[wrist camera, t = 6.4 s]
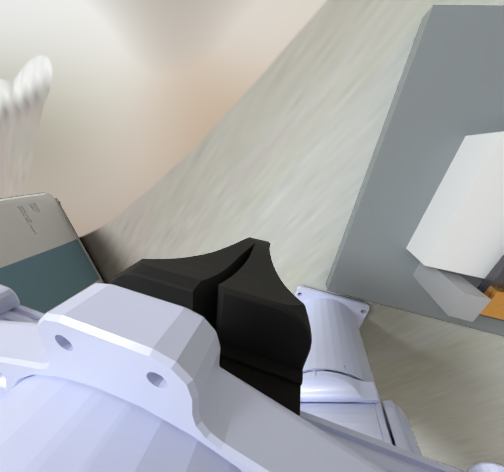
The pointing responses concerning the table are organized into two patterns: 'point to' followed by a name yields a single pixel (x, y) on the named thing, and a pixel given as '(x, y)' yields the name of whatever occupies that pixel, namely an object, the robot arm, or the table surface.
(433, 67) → the board
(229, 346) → the robot arm
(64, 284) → the stereo radio cassette player
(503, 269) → the clamp bar
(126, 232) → the table surface
